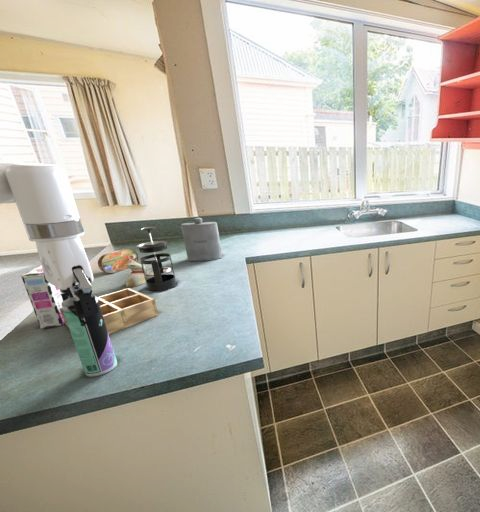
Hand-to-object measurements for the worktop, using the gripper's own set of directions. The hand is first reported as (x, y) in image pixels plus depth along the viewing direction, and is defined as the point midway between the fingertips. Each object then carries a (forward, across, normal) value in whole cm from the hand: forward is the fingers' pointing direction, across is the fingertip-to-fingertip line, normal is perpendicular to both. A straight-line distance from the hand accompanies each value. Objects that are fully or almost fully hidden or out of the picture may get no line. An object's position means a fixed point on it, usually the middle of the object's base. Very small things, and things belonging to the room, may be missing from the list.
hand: (82, 311), depth 64 cm
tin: (+16, -74, +32) cm, 83 cm away
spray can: (+15, 0, 0) cm, 15 cm away
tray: (+15, -24, +11) cm, 31 cm away
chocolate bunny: (+16, -50, +28) cm, 60 cm away
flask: (+16, -58, +59) cm, 84 cm away
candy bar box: (+16, -39, +4) cm, 42 cm away
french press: (+15, -38, +31) cm, 52 cm away
